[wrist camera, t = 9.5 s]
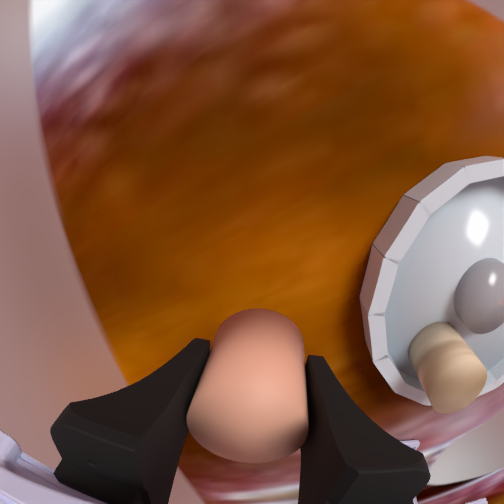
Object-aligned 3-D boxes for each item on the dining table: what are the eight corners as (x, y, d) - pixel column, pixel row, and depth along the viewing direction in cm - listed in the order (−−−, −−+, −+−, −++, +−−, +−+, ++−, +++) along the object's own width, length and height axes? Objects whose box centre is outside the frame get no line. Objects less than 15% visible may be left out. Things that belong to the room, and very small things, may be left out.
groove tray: (504, 381, 21) (515, 396, 19) (333, 381, 22) (336, 404, 20) (570, 193, 15) (589, 199, 13) (392, 126, 16) (407, 123, 14)
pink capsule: (294, 385, 15) (294, 468, 10) (212, 373, 15) (187, 452, 10) (311, 315, 13) (322, 396, 9) (218, 302, 14) (186, 376, 9)
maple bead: (443, 368, 20) (468, 411, 15) (400, 367, 20) (420, 414, 15) (464, 323, 19) (497, 363, 14) (420, 319, 19) (449, 362, 14)
